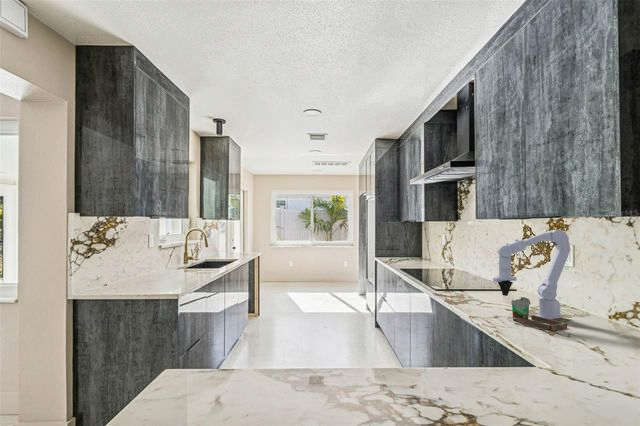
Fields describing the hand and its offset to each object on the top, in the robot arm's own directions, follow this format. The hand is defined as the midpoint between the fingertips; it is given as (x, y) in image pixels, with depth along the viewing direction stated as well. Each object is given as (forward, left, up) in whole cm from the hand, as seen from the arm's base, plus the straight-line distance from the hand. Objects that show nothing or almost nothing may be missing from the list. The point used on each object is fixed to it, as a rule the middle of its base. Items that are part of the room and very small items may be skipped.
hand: (505, 295), depth 196 cm
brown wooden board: (+1, +20, -10) cm, 22 cm away
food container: (+1, +12, -10) cm, 15 cm away
